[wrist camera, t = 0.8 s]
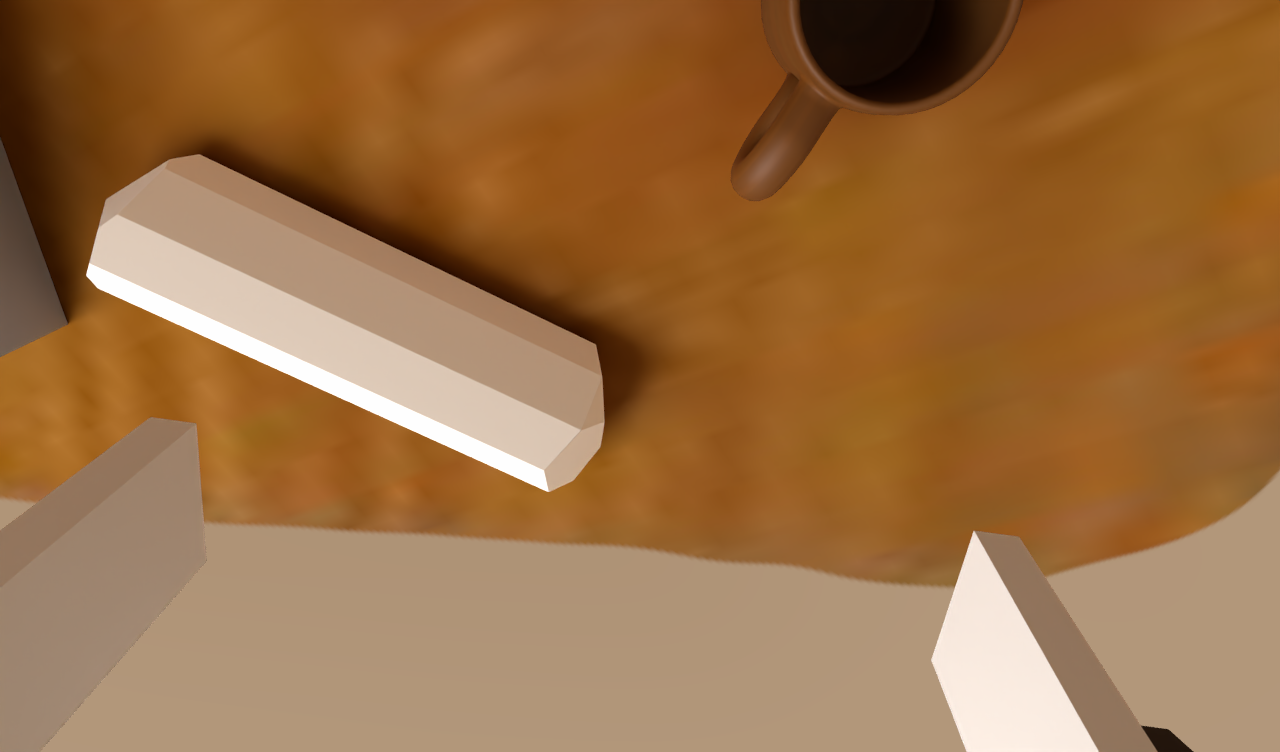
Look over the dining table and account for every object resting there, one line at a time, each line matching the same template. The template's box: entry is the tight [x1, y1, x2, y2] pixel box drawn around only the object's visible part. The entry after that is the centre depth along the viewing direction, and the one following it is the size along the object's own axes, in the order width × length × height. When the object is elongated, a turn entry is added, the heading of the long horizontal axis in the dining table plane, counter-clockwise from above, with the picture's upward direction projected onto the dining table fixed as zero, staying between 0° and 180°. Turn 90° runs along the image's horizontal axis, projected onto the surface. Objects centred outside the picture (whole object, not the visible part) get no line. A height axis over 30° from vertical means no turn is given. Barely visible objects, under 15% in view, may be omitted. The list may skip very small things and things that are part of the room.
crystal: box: [86, 154, 605, 492], centre depth 40 cm, size 7×7×24 cm
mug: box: [731, 0, 1023, 201], centre depth 32 cm, size 12×8×9 cm, turn 145°
